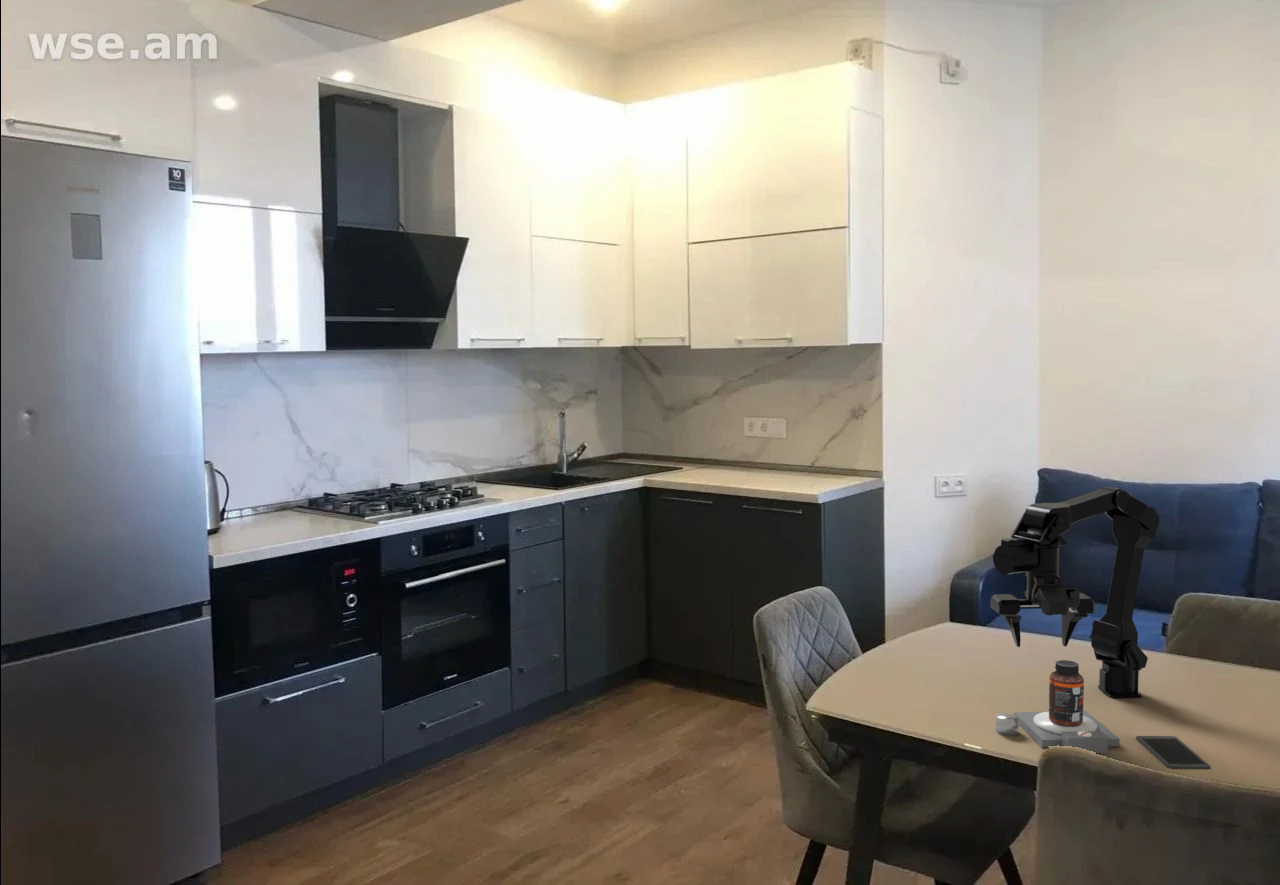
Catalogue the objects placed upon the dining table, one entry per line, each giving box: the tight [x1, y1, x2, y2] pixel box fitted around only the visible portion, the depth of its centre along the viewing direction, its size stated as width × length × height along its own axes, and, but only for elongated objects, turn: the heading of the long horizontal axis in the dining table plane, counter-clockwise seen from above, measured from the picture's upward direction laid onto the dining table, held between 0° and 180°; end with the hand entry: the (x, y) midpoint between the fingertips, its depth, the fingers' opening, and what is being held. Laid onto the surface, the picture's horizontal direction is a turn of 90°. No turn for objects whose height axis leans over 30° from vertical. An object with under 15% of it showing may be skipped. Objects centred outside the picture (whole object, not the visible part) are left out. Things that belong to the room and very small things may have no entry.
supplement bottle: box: [1048, 659, 1085, 726], centre depth 192 cm, size 6×6×11 cm
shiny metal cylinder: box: [995, 712, 1019, 737], centre depth 194 cm, size 4×4×3 cm
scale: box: [1013, 710, 1120, 755], centre depth 191 cm, size 14×17×3 cm
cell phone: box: [1135, 735, 1211, 770], centre depth 183 cm, size 7×14×1 cm, turn 177°
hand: (1041, 646), depth 204 cm, fingers open, 9 cm apart
